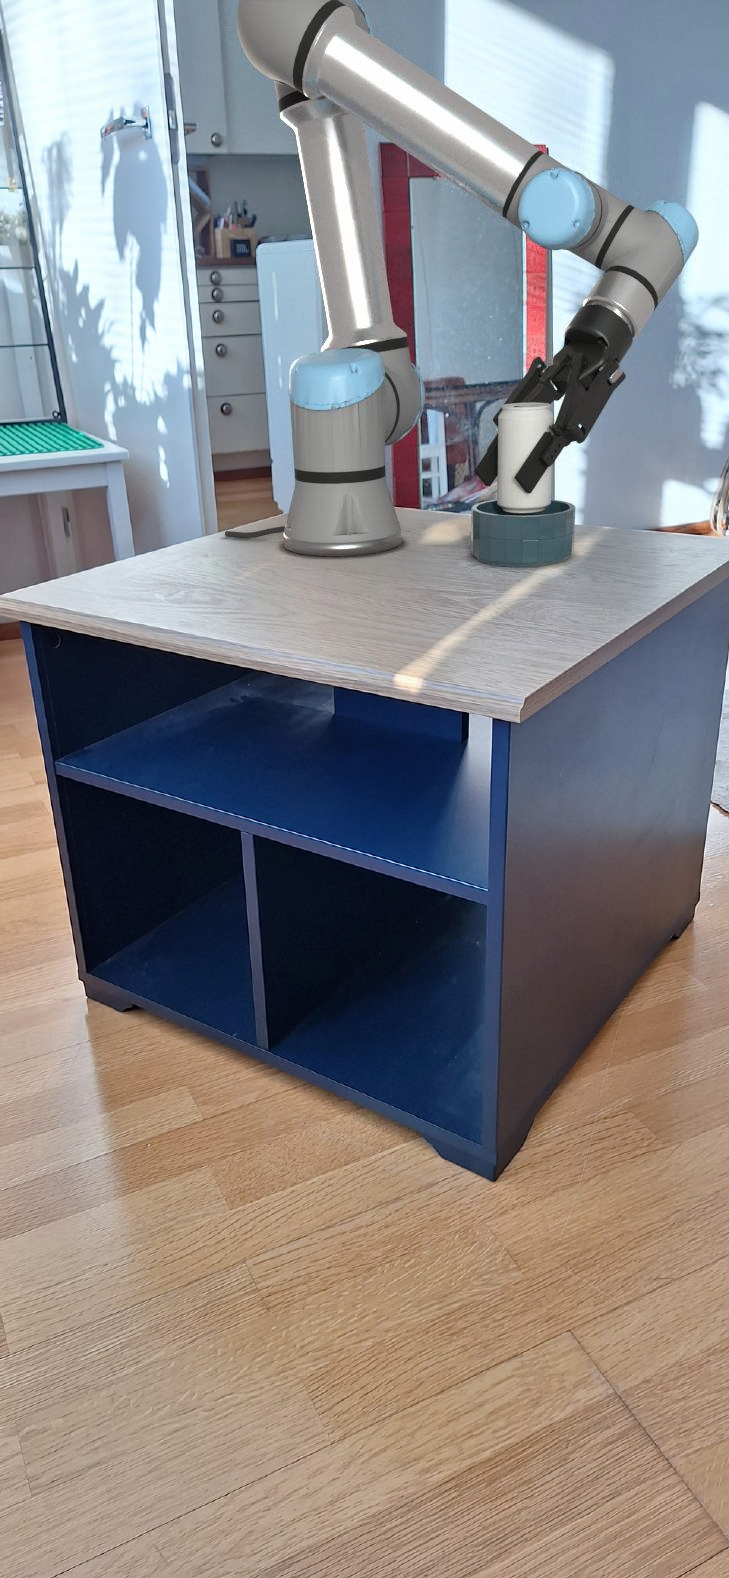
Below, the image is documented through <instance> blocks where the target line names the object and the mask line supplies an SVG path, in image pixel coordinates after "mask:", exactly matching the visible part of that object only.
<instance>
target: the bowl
mask: <svg viewBox="0 0 729 1578" xmlns="http://www.w3.org/2000/svg"><path fill="white" fill-rule="evenodd" d="M470 513H471V515H470V517H471V518H470V519H471V521H470V522H471V524H470V529H471V530H470V553H471V555H472V556H474V557H475V559H476V560H477V561H479V562H480V563H484V564H487V565H491V566H497V567H508V568H536V567H546V566H552V565H557V564H561V563H563V562H566V561H567V560H568V559H569V557H571V556H572V555H573V553H574V551H575V549H574V548H575V530H576V529H575V527H576V506H575V505H574V504H573V503H571V502H568V501H564V500H558V499H552V498H551V504H550V505H548V506H547V507H545V509H544V510H543V511H539V512H533V513H511V512H506V511H504V510H503V508H502V507H500V506H499V505H498V504H497V499H492V500H485V501H481V502H479V503H478V502H477V503H475V504H474V505H472V506H471V512H470Z"/></svg>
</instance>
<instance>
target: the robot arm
mask: <svg viewBox="0 0 729 1578" xmlns="http://www.w3.org/2000/svg"><path fill="white" fill-rule="evenodd" d="M373 29H374V28H373V26H372V23H371V20H370V17H369V16H368V13H366V10H365V9H364V7H363V6H362V4H360V3H359V0H238V3H237V8H236V30H237V35H238V39H239V42H240V45H241V48H242V50H243V52H244V54H245V56H246V58H247V60H248V61H250V63H251V64H252V66H253V67H254V68H255V69H257V71H258V72H260V73H261V74H262V75H264V76H265V77H267V78H269V79H270V80H273V82H274V89H275V94H276V99H277V105H278V112H279V116H280V119H281V120H282V121H283V122H284V123H286V125H288V126H289V127H291V128H292V130H293V131H294V133H295V136H296V144H297V148H298V156H299V160H300V166H301V167H300V168H301V172H302V178H303V184H304V190H305V195H306V196H305V197H306V201H307V208H308V214H309V219H310V220H309V221H310V226H311V231H312V237H313V238H312V239H313V243H314V251H315V255H316V261H317V267H318V273H319V278H320V285H321V291H322V297H323V302H324V308H325V309H324V310H325V313H326V320H327V326H328V332H329V335H328V338H326V340H325V343H324V344H323V345H322V347H321V349H320V352H316V351H314V352H311V353H307V354H304V355H302V356H299V357H298V358H296V359H295V360H294V361H293V362H292V364H291V365H290V369H289V384H288V389H287V393H288V397H289V407H290V408H289V409H290V422H291V423H290V424H291V440H292V455H293V469H294V470H293V471H294V472H293V473H294V490H293V493H292V496H291V501H290V505H289V509H288V514H287V518H286V524H285V525H281V526H276V527H270V528H265V529H261V530H256V531H249V532H246V531H245V532H243V531H233V530H225V531H224V536H225V537H227V538H237V539H253V538H259V537H263V536H268V535H272V534H279V533H283V544H284V545H283V546H284V548H285V549H286V550H288V551H290V552H293V553H297V554H301V555H308V556H318V557H319V556H320V557H321V556H322V557H344V556H345V557H346V556H347V557H348V556H349V557H350V556H360V555H361V556H362V555H369V554H376V553H381V552H385V551H388V550H391V549H394V548H397V547H398V546H400V544H402V528H401V523H400V521H399V520H398V516H397V513H396V509H395V506H394V503H393V502H394V501H393V500H392V497H391V494H390V491H389V488H388V485H387V476H386V474H387V473H386V469H387V468H386V446H387V447H388V446H392V445H393V444H396V443H397V442H399V441H401V440H402V439H403V438H404V437H405V436H407V435H408V434H409V433H410V432H411V431H412V430H413V429H414V428H415V426H416V425H417V424H418V422H419V420H420V418H421V417H422V413H423V410H424V407H425V403H426V390H425V384H424V381H423V377H422V376H421V373H420V371H419V370H418V368H417V367H416V365H415V364H414V363H413V362H412V360H411V353H410V347H409V340H408V334H407V332H405V331H404V330H403V329H401V328H400V327H399V326H397V324H396V323H395V322H394V317H393V310H392V303H391V297H390V290H389V284H388V278H387V276H388V275H387V271H386V263H385V256H384V250H383V243H382V236H381V229H380V223H379V218H378V217H379V216H378V210H377V203H376V197H375V191H374V190H375V189H374V184H373V183H374V181H373V177H372V170H371V163H370V157H369V149H368V142H367V137H366V136H367V135H366V131H365V130H366V129H365V125H366V126H368V127H369V128H370V129H372V130H373V131H375V132H376V133H378V134H380V135H381V136H382V137H383V138H386V139H387V140H388V141H389V142H391V143H393V144H394V145H396V146H397V147H398V148H400V149H401V150H403V151H405V152H406V153H407V154H409V155H411V156H412V157H414V158H415V159H416V160H418V161H420V162H421V163H422V164H424V165H425V166H427V167H428V168H429V169H431V170H433V171H434V172H436V173H437V174H438V175H440V176H442V177H443V178H444V179H446V180H447V181H449V182H451V183H452V184H453V185H455V186H456V187H458V188H459V189H461V190H462V191H464V192H466V193H467V194H469V195H470V196H471V197H473V198H474V199H476V200H477V201H479V202H480V203H482V204H483V205H485V206H486V207H488V208H489V209H490V210H492V211H493V212H495V213H497V214H498V215H499V216H501V217H502V218H504V219H505V220H507V221H508V222H509V223H510V224H511V225H513V226H515V227H516V228H517V229H519V230H521V231H522V232H523V233H524V234H525V235H526V236H527V239H529V240H530V241H531V242H532V243H534V244H536V245H537V246H539V247H541V248H543V249H545V250H548V251H562V250H564V251H568V252H570V253H571V254H573V255H575V256H577V257H578V258H580V259H581V260H583V261H586V262H587V263H589V264H591V265H592V266H594V267H595V268H597V269H598V270H600V271H602V272H603V273H602V275H601V276H600V277H599V279H598V280H597V282H596V283H595V285H594V286H593V288H592V289H591V290H590V292H589V294H588V295H587V296H586V297H585V298H584V301H583V303H582V306H581V307H580V308H579V309H578V311H577V312H576V314H575V315H574V316H573V318H572V319H571V321H570V322H569V324H568V325H567V327H566V328H565V330H564V334H563V335H564V339H563V346H562V347H561V349H560V350H558V352H556V353H555V354H554V355H553V357H552V359H547V360H543V359H542V357H541V356H536V357H534V358H533V360H531V363H530V366H529V368H528V369H527V370H528V371H527V372H526V373H525V375H524V376H523V378H522V379H521V380H520V381H519V383H518V384H517V386H516V387H515V389H514V390H513V391H512V393H510V395H509V396H508V398H507V399H506V400H505V401H504V403H503V404H502V405H505V404H512V403H530V402H536V403H548V404H551V405H552V403H553V402H554V401H556V402H558V401H560V400H561V399H562V398H563V399H562V402H561V405H560V407H559V411H558V412H557V416H556V419H555V421H554V424H552V425H551V426H552V427H551V426H550V425H549V428H550V429H551V431H552V432H553V436H552V435H551V433H550V432H544V434H543V435H542V437H541V438H540V440H539V441H538V443H537V444H536V446H535V447H534V449H533V450H532V452H531V453H530V455H529V456H528V458H527V459H526V461H525V462H524V464H523V465H522V467H521V468H520V470H519V471H518V473H517V474H516V476H515V477H514V478H515V479H516V481H517V482H518V483H519V484H520V486H521V487H522V488H523V489H524V491H525V492H526V493H531V492H532V491H533V489H534V488H535V486H536V485H537V483H538V482H539V480H540V479H541V477H542V476H543V474H544V473H545V471H546V470H547V468H548V467H550V466H551V465H552V466H553V465H554V464H555V462H556V460H557V459H558V457H559V455H560V454H562V453H561V452H562V451H563V450H564V448H566V447H568V446H570V445H571V443H573V442H576V443H577V444H578V445H579V444H582V443H584V442H585V441H586V440H587V438H588V436H589V434H590V433H591V431H592V429H593V427H594V426H595V424H596V422H597V420H598V419H599V417H600V415H601V414H602V412H603V410H604V409H605V407H606V405H607V403H608V402H609V400H610V398H611V396H612V395H613V393H614V391H615V390H616V389H617V388H618V387H619V386H620V385H621V384H622V383H623V382H624V381H625V379H626V377H627V374H626V372H625V371H624V370H623V368H622V367H621V365H620V364H621V362H622V361H623V359H624V357H625V356H626V355H627V353H628V351H629V350H630V349H631V348H632V345H633V343H634V341H635V340H636V339H637V337H638V336H639V335H640V333H641V332H642V330H643V328H644V327H645V325H646V324H647V322H648V321H649V319H650V318H651V317H652V314H654V312H655V310H656V309H657V308H658V306H659V305H660V303H661V302H662V300H663V299H664V297H665V296H666V294H667V293H668V291H669V290H670V289H671V287H672V286H673V284H674V283H675V281H676V280H677V278H678V277H679V276H680V274H682V271H683V269H684V267H685V266H686V264H687V262H688V261H689V259H690V257H691V256H692V254H693V252H694V251H695V249H696V248H697V245H698V242H699V237H700V231H699V226H698V223H697V221H696V219H695V218H694V216H693V214H692V213H691V212H690V211H689V210H688V209H687V208H686V207H684V206H683V205H681V204H680V203H677V202H675V201H671V202H669V201H667V200H666V199H660V200H656V201H653V202H652V203H651V204H649V205H648V206H647V208H645V209H644V210H641V209H640V208H638V207H635V206H634V205H632V204H629V203H627V202H625V201H624V200H623V199H621V198H619V197H618V196H616V195H615V194H614V193H612V192H610V191H609V190H607V189H605V188H604V187H602V186H600V185H599V184H598V183H596V182H595V181H592V180H591V179H589V178H588V177H586V176H585V174H583V173H582V172H579V171H577V170H575V169H571V168H570V167H568V166H566V165H564V164H563V163H561V162H560V161H558V160H557V159H555V158H553V157H552V156H550V155H549V154H548V153H545V152H544V151H542V150H541V148H539V147H537V146H535V145H534V144H532V143H531V142H530V141H528V140H527V139H525V138H523V136H521V135H519V134H518V133H516V132H515V131H513V130H512V129H511V128H509V127H508V126H506V125H505V124H503V123H502V122H500V121H499V120H497V119H496V118H494V117H493V116H491V115H490V114H488V113H487V112H485V111H484V110H482V109H481V108H479V107H478V106H476V105H475V104H474V103H472V102H471V101H469V100H468V99H467V98H464V97H463V96H462V95H460V94H459V93H457V92H455V91H454V90H453V89H451V88H450V87H449V86H447V85H445V84H444V83H442V81H440V80H438V79H436V78H435V77H434V76H432V75H431V74H430V73H428V72H426V71H425V70H423V68H420V67H419V66H417V65H416V64H414V63H413V62H411V61H410V60H409V59H407V58H406V57H404V56H402V55H401V54H400V53H398V52H397V51H395V50H394V49H392V47H391V48H390V46H388V45H387V44H385V43H383V42H382V41H381V40H379V39H377V38H376V37H375V34H374V30H373ZM501 412H502V406H501V407H500V408H499V409H498V411H497V412H496V413H495V415H494V416H493V418H492V422H493V423H494V425H495V426H496V427H497V428H498V417H499V415H500V413H501ZM473 473H474V474H475V475H476V477H478V479H479V480H480V481H481V482H482V483H483V485H484V486H485V487H489V488H491V486H492V484H493V483H494V481H495V480H496V479H497V478H498V432H497V433H496V435H495V436H494V438H493V439H492V441H491V443H490V444H489V445H488V447H487V449H486V452H485V454H484V455H483V457H482V459H481V460H480V461H479V462H478V464H477V465H476V467H475V469H474V470H473Z"/></svg>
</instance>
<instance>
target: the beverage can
mask: <svg viewBox="0 0 729 1578" xmlns="http://www.w3.org/2000/svg"><path fill="white" fill-rule="evenodd" d="M501 407H502V412H501V413H500V415H499V417H498V427H497V433H498V475H497V478H496V479H497V481H496V484H497V485H496V486H497V489H496V490H497V491H496V500H497V504H498V505H499V506H500V507H502V508H503V510H504V511H506V512H511V513H533V512H539V511H543V510H544V509H545V507H547V506H548V505H550V504H551V499H552V487H553V486H552V484H553V483H552V482H553V464H552V465H551V466H550V467H548V468H547V470H546V471H545V473H544V474H543V476H542V477H541V479H540V480H539V482H538V483H537V485H536V486H535V488H534V489H533V491H532V492H531V493H526V492H525V491H524V489H523V488H522V487H521V486H520V484H519V483H518V482H517V481H516V479H515V478H514V477H515V476H516V474H517V473H518V471H519V470H520V468H521V467H522V465H523V464H524V462H525V461H526V459H527V458H528V456H529V455H530V453H531V452H532V450H533V449H534V447H535V446H536V444H537V443H538V441H539V440H540V438H541V437H542V435H543V434H544V432H550V433H551V435H552V436H553V434H554V433H553V432H552V431H551V429H550V428H549V425H550V426H551V425H552V424H555V421H554V420H555V416H554V413H553V411H552V410H551V407H552V403H551V404H548V403H536V402H530V403H512V404H505V405H503V404H501ZM551 427H552V426H551Z"/></svg>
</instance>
